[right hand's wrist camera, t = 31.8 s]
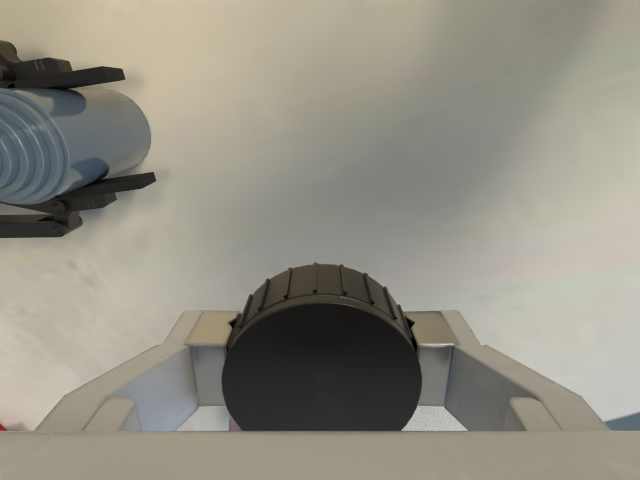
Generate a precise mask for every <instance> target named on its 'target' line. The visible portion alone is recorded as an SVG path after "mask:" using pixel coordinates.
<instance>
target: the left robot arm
mask: <svg viewBox="0 0 640 480" xmlns="http://www.w3.org/2000/svg"><path fill="white" fill-rule="evenodd" d="M120 80H125V76H124V73H123V70H122V69H119V68H112V67H104V66H102V67H96V68H89V69H83V70H77V71H72V68H71V65H70V62H69V61H66V60H62V59H55V58H43V59H37V60H31V61H25V62H22V61H21V60H20V59H19V58H18V57H17V51H16V48H15V46H14V45H13V44H11V43H10V42H7V41H1V40H0V88H44V89H70V88H76V87H82V86H89V85H95V84H101V83H107V82H114V81H120ZM155 181H156V179H155V175H154V172H151V173H144V174H137V175H130V176H123V177H116V178H109V179H102V180H98V181H96V182H93V183H90V184H88V185H85V186H83V187H80V188H78V189H75V190H72V191H70V192H67V193H65V194H62V195H60V196H57V197H54V198H52V199H49V200H47V201H44V202H41V203H37V204H28V205H27V204H11V203H5V202H1V201H0V203H2V204H7V205H12V206H17V207H22V208H27V209H31V210H36V211H41V212H46V213H51V214H43V215H0V238H30V237H62V236H64V235H66V234H68V233H69V232H71V231H73V230H75V229H77V228H78V227H80V226H81V225H82V223H83V221H82V218H81V217H80V216H79V211H82V210H89V209H96V208H103V207H105V206H107V205H109V204H111V203H112V202H114V201H116V200H117V198H116V195H115V193H114V192H121V191H128V190H135V189H142V188H144V187H146V186H148V185H149V184H151V183H153V182H155Z"/></svg>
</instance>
